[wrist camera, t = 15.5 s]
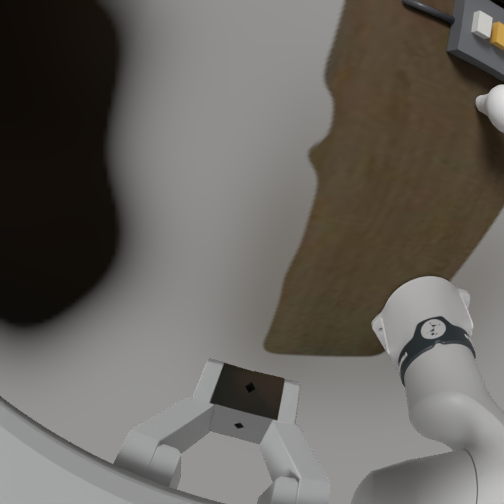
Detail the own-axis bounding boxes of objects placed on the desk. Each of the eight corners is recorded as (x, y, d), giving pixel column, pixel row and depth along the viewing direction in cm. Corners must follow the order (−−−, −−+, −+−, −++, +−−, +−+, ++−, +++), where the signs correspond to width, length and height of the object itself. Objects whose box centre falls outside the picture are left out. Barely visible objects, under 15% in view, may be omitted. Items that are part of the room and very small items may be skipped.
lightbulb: (503, 107, 31) (545, 119, 22) (479, 132, 34) (519, 149, 25) (479, 74, 30) (520, 75, 21) (454, 99, 33) (492, 106, 24)
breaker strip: (530, 39, 24) (551, 37, 19) (521, 94, 29) (542, 98, 24) (405, -28, 26) (416, -42, 21) (395, 30, 31) (405, 22, 26)
